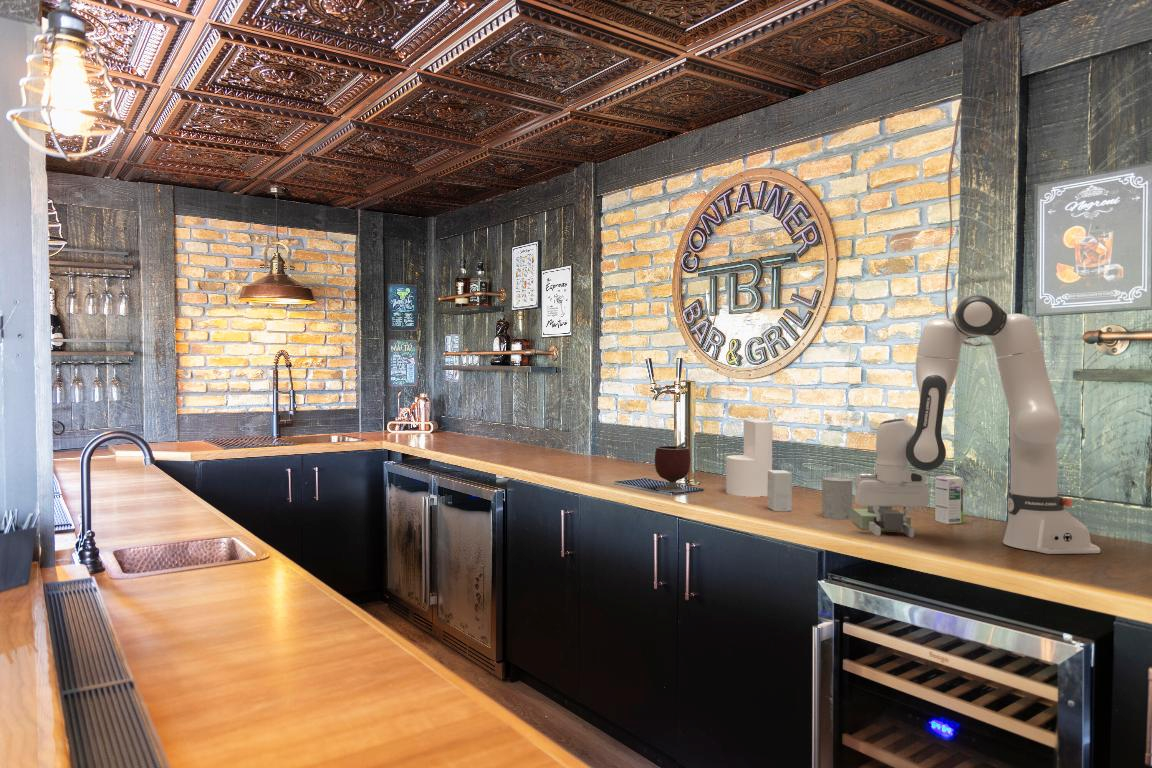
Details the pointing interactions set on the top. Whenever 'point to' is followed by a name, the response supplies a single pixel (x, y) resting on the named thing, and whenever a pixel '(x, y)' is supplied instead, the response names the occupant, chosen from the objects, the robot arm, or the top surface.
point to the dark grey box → (891, 519)
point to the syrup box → (949, 499)
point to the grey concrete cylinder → (837, 497)
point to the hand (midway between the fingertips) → (891, 521)
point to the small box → (779, 490)
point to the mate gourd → (672, 465)
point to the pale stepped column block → (751, 461)
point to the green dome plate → (868, 521)
